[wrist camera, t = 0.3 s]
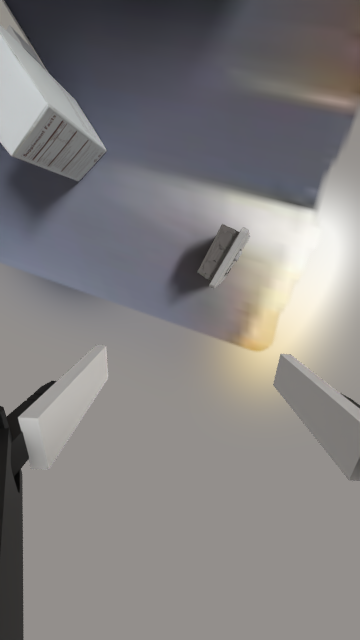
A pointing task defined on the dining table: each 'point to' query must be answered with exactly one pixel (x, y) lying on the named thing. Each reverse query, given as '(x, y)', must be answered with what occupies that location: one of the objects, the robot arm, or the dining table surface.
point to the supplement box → (42, 116)
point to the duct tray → (16, 31)
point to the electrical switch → (223, 254)
